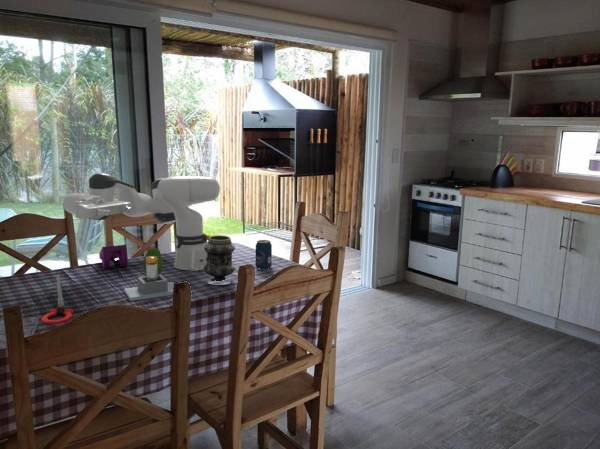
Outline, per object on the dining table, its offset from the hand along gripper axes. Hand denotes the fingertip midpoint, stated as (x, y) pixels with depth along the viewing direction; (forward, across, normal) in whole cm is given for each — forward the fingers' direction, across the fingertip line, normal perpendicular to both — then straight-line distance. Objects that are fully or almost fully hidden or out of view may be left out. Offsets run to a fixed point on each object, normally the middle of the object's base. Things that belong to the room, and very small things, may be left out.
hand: (119, 211), depth 179 cm
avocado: (+1, -14, -28) cm, 32 cm away
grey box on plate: (+16, 0, -28) cm, 32 cm away
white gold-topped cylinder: (+16, 0, -27) cm, 31 cm away
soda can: (+31, -49, -28) cm, 64 cm away
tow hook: (+10, +33, -28) cm, 45 cm away
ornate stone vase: (+28, -23, -28) cm, 46 cm away
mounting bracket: (-27, -18, -29) cm, 44 cm away
